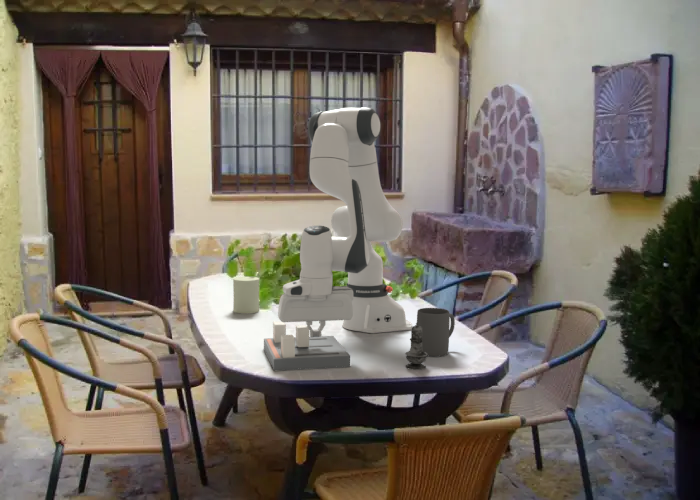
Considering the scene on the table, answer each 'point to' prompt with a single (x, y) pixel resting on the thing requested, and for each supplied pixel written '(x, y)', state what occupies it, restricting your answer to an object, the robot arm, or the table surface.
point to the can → (246, 295)
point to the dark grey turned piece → (416, 349)
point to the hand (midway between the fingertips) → (315, 336)
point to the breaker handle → (302, 336)
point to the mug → (435, 330)
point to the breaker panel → (303, 351)
